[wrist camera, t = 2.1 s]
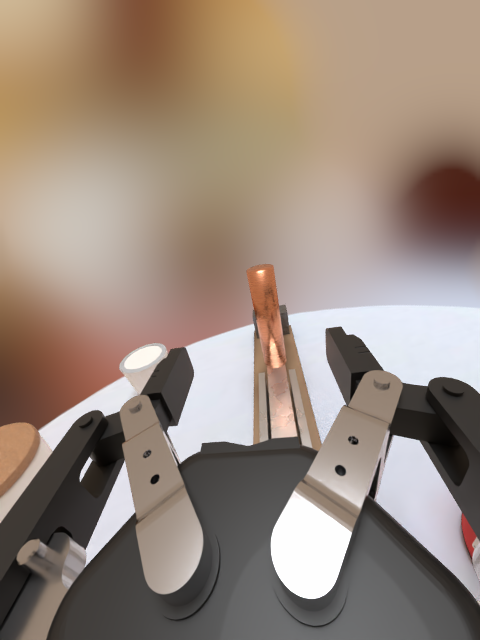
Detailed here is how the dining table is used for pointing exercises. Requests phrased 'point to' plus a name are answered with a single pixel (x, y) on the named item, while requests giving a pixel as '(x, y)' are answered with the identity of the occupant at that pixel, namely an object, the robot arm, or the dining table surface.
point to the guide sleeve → (265, 410)
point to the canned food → (469, 536)
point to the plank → (295, 364)
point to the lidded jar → (19, 461)
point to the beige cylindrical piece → (142, 364)
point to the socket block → (283, 321)
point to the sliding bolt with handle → (272, 348)
